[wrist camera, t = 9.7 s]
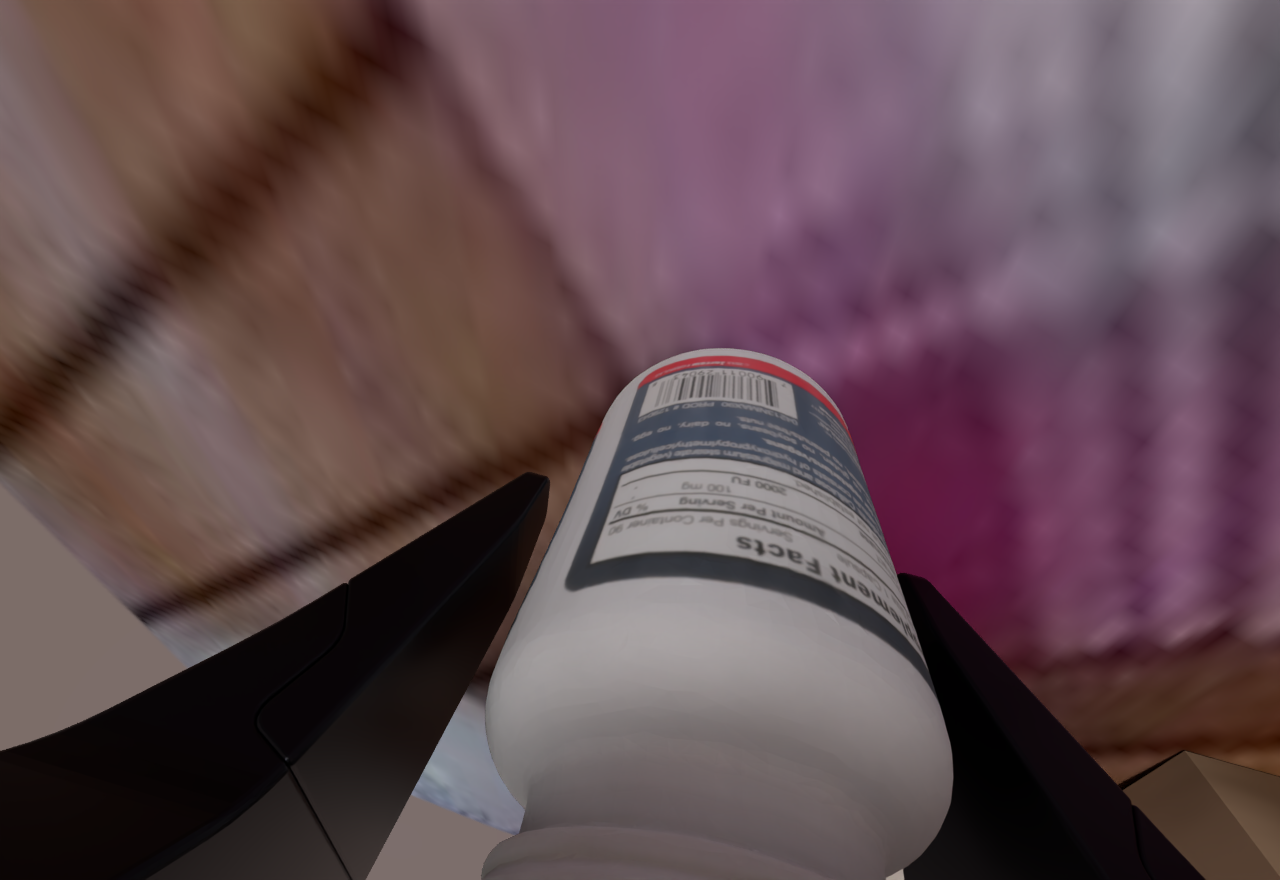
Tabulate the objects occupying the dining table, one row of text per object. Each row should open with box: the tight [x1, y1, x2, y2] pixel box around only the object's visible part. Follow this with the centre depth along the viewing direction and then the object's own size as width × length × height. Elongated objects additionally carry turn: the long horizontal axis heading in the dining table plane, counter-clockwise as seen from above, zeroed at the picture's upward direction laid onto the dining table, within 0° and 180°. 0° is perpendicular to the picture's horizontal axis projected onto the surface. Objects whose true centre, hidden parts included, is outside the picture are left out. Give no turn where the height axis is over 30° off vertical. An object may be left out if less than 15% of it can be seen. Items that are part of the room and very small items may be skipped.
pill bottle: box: [481, 348, 953, 880], centre depth 7 cm, size 5×5×9 cm
